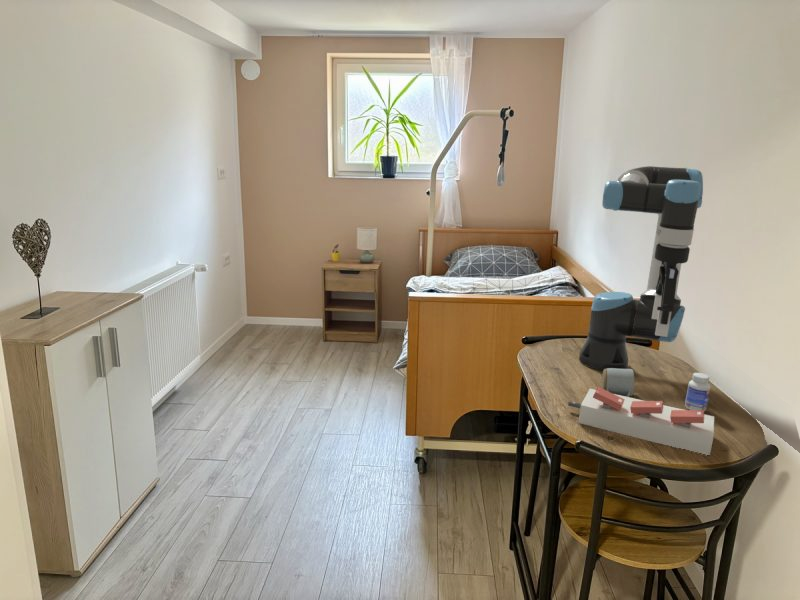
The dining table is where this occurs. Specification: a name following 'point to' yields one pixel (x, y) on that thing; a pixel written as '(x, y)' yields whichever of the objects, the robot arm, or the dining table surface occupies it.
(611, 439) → the dining table surface
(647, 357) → the dining table surface
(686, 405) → the pill bottle
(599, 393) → the block
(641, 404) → the block
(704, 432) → the switch panel
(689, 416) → the block
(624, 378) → the ceramic mug
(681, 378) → the dining table surface
